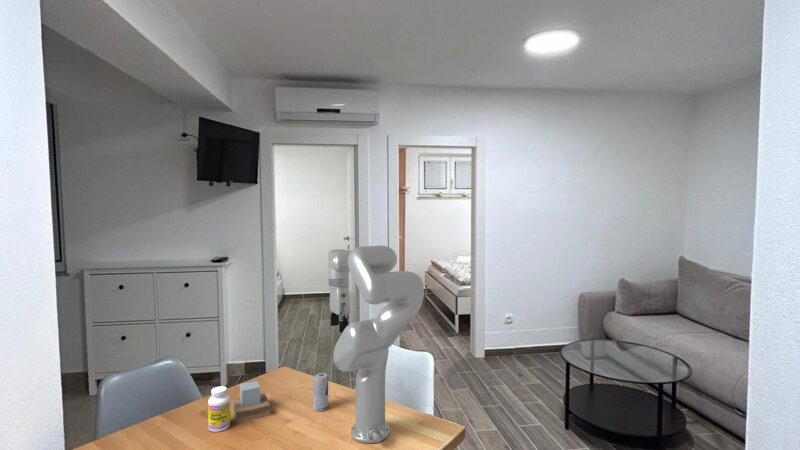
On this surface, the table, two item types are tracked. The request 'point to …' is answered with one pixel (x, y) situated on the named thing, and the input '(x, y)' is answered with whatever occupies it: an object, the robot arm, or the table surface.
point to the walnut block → (251, 409)
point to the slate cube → (249, 394)
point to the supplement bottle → (219, 409)
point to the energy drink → (320, 392)
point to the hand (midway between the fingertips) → (339, 328)
